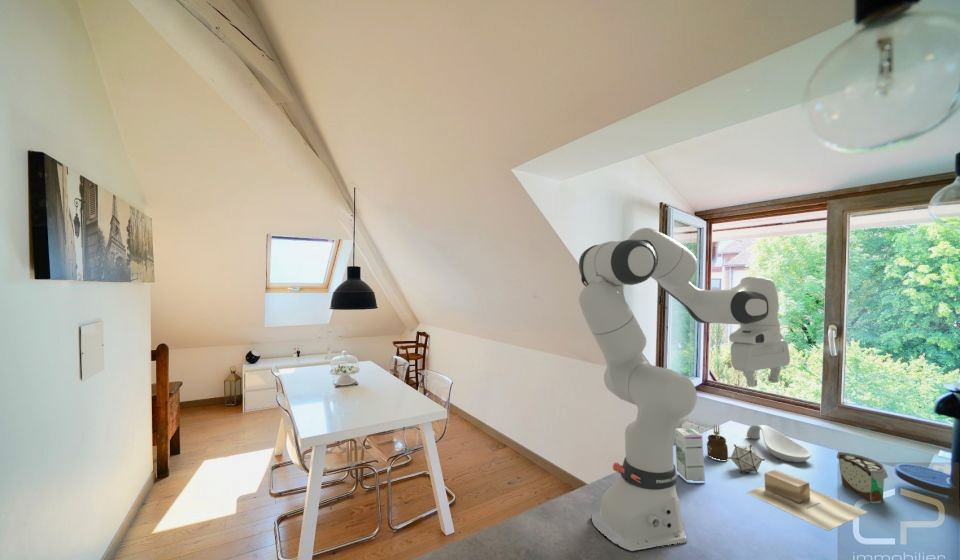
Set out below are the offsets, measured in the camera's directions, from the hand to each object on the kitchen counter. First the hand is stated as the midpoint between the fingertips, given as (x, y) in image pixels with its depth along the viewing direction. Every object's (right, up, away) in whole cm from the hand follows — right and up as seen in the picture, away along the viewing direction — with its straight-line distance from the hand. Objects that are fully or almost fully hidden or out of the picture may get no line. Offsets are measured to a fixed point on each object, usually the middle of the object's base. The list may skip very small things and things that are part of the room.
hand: (763, 384), depth 101 cm
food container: (+27, -31, -3) cm, 41 cm away
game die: (+5, -32, +13) cm, 35 cm away
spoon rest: (+26, -32, +28) cm, 50 cm away
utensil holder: (+3, -32, +23) cm, 40 cm away
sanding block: (+5, -30, -2) cm, 30 cm away
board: (+7, -31, -5) cm, 32 cm away
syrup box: (-15, -32, +10) cm, 37 cm away
